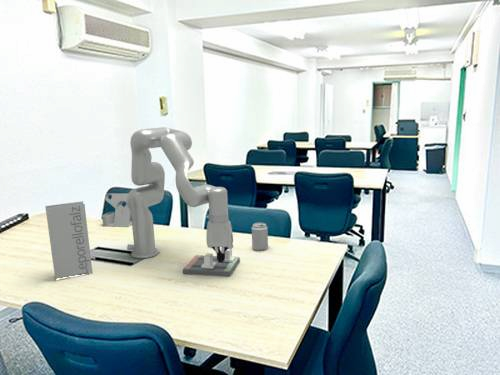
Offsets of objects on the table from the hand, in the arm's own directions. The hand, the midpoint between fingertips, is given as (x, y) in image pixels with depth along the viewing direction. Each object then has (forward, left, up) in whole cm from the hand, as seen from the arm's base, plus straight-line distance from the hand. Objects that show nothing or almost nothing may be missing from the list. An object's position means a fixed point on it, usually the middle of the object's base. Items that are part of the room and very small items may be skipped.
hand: (221, 261), depth 171 cm
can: (+10, +29, -5) cm, 32 cm away
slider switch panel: (-5, +4, -5) cm, 8 cm away
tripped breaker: (-5, 0, -2) cm, 6 cm away
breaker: (+1, +8, -2) cm, 8 cm away
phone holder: (-81, +60, -5) cm, 101 cm away
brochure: (-61, -12, -5) cm, 62 cm away
